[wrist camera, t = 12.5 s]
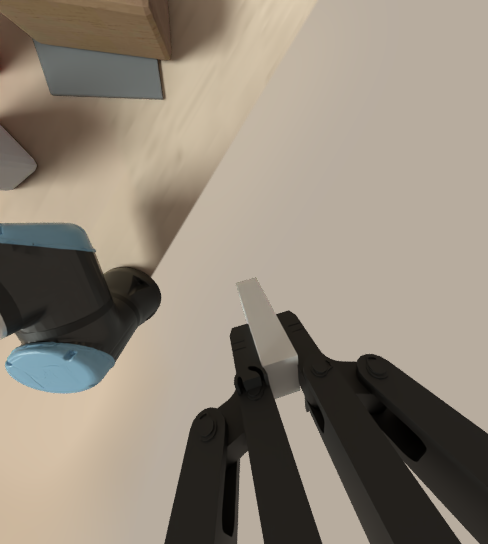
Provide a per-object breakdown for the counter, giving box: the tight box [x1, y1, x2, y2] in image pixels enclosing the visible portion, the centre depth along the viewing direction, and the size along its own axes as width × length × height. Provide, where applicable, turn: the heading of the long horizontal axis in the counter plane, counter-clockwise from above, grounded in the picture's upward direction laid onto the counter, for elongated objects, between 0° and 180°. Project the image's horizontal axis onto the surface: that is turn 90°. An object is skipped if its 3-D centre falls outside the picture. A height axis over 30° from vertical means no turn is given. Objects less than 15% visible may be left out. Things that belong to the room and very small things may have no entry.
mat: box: [32, 38, 163, 100], centre depth 28 cm, size 18×18×1 cm
